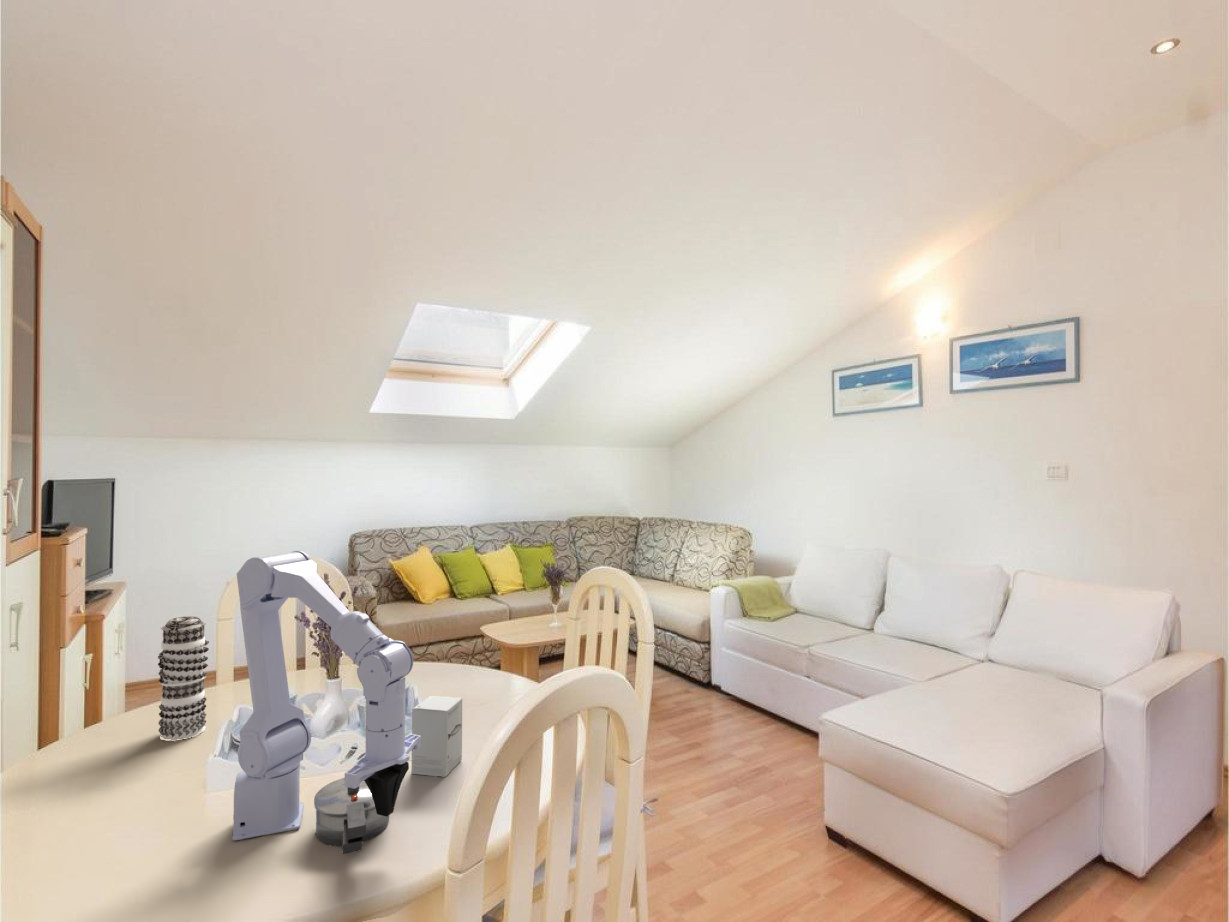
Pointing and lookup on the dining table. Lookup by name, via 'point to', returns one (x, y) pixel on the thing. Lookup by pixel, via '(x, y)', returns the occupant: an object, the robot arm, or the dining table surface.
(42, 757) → the dining table surface
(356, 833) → the lid
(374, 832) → the pot
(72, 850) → the dining table surface
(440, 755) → the supplement box
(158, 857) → the dining table surface
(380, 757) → the robot arm
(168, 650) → the decorative candle
